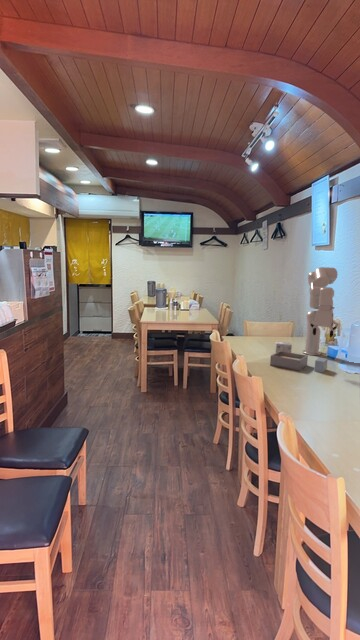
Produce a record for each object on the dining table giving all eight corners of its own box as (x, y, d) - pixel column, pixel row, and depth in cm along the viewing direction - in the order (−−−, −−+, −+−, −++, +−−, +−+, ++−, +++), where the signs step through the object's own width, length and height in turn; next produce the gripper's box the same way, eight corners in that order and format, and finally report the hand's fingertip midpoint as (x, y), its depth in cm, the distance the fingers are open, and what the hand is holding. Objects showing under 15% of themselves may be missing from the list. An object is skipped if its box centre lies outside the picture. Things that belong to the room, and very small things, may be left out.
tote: (279, 360, 253) (280, 350, 252) (307, 365, 242) (307, 355, 241) (270, 365, 239) (270, 355, 238) (298, 370, 229) (299, 360, 228)
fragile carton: (318, 368, 236) (319, 357, 235) (326, 369, 233) (327, 358, 232) (314, 371, 229) (315, 360, 228) (322, 372, 226) (323, 361, 225)
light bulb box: (289, 357, 262) (290, 342, 260) (291, 359, 255) (292, 344, 254) (273, 356, 263) (274, 341, 261) (275, 358, 256) (276, 343, 255)
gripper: (341, 309, 225) (338, 337, 227) (312, 306, 234) (310, 333, 237) (338, 309, 218) (336, 338, 221) (308, 307, 228) (306, 334, 231)
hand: (322, 335), depth 229 cm, fingers open, 9 cm apart
